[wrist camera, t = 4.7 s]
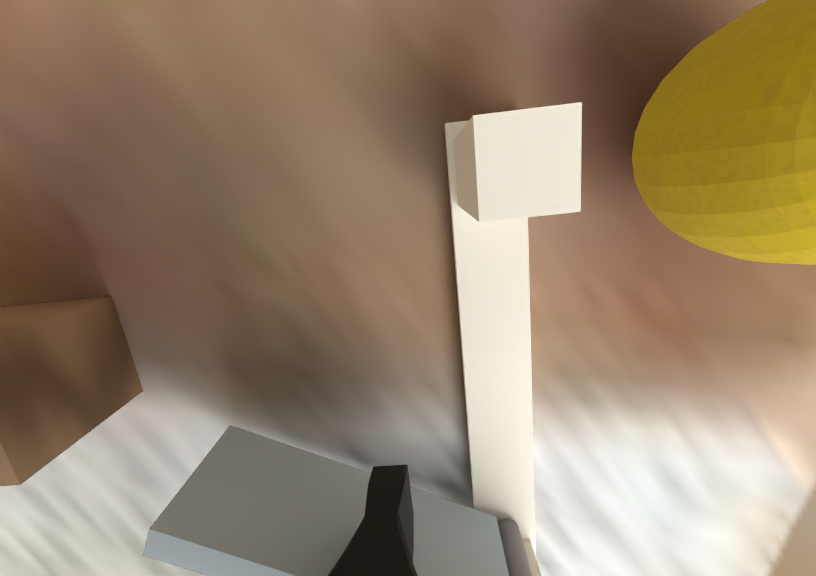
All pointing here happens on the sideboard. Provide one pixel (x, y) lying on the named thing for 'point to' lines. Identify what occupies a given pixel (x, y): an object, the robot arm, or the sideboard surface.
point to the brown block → (58, 379)
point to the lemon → (738, 139)
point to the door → (310, 518)
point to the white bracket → (505, 285)
